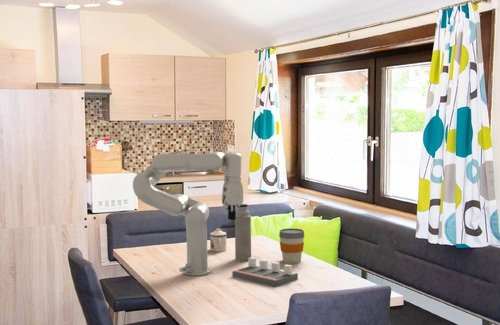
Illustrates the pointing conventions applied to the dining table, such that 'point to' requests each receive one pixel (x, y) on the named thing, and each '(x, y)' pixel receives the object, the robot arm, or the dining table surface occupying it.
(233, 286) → the dining table surface
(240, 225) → the thermos bottle
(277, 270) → the block
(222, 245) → the teacup with lid
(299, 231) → the reusable coffee cup
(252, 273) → the grey slider switch panel
